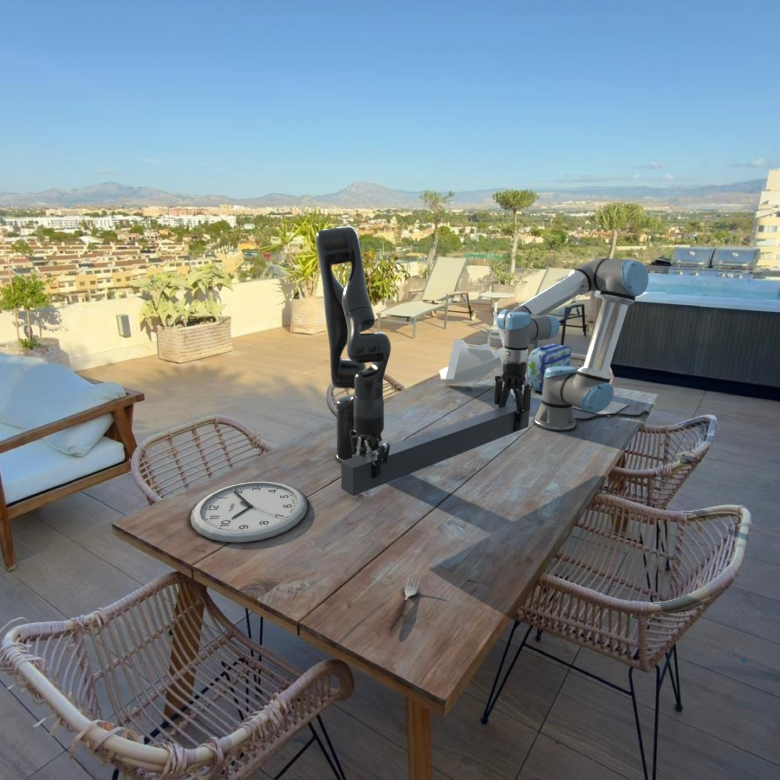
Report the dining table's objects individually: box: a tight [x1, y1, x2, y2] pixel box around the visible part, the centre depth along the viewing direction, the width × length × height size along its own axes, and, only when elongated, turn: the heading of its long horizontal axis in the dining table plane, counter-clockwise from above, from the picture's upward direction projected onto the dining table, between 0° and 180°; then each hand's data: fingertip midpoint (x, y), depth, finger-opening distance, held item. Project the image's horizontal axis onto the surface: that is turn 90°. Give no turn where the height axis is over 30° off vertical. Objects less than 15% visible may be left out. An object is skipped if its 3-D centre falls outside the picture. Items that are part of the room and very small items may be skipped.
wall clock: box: [190, 481, 308, 544], centre depth 139 cm, size 30×2×30 cm
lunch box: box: [526, 343, 572, 394], centre depth 248 cm, size 26×11×21 cm, turn 135°
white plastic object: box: [438, 310, 524, 398], centre depth 245 cm, size 37×45×31 cm
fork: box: [389, 573, 422, 632], centre depth 105 cm, size 3×16×2 cm, turn 160°
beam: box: [340, 402, 531, 497], centre depth 155 cm, size 75×5×8 cm, turn 131°
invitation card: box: [573, 400, 629, 418], centre depth 226 cm, size 21×1×15 cm
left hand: (368, 473), depth 136 cm, fingers closed on beam, 5 cm apart
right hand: (509, 428), depth 175 cm, fingers closed on beam, 5 cm apart
